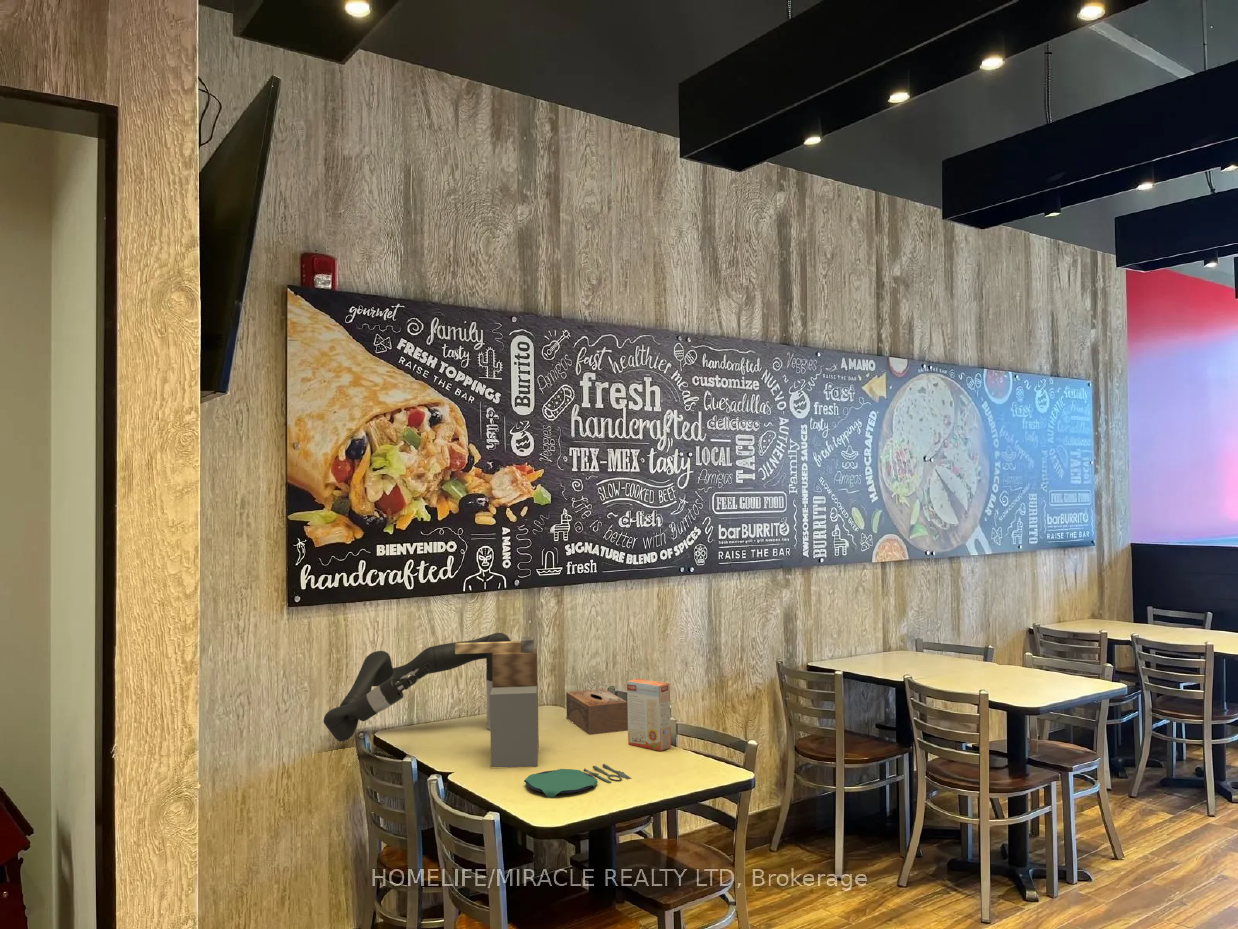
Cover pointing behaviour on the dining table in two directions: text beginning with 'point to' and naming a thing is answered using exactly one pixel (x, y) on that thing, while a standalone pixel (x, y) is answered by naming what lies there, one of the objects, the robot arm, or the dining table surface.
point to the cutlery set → (568, 780)
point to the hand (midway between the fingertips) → (429, 667)
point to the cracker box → (649, 714)
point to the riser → (515, 671)
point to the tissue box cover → (597, 711)
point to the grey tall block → (514, 727)
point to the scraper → (496, 646)
